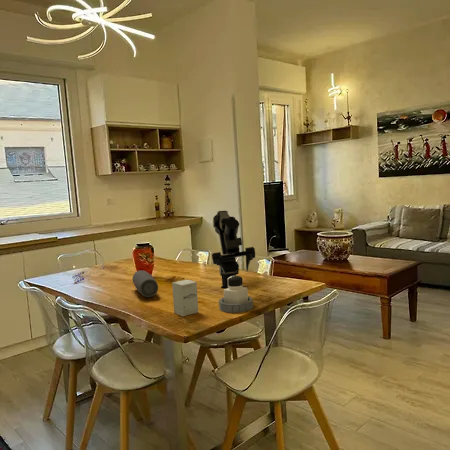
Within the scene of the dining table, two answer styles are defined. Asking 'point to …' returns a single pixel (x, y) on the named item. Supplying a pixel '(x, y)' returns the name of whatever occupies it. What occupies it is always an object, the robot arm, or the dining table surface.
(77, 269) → the dining table surface
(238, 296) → the medicine bottle
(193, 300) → the supplement box
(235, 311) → the round dish
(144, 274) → the bluetooth speaker
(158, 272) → the dining table surface
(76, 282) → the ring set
